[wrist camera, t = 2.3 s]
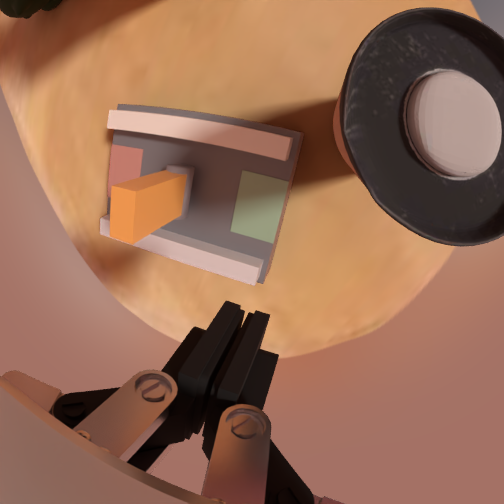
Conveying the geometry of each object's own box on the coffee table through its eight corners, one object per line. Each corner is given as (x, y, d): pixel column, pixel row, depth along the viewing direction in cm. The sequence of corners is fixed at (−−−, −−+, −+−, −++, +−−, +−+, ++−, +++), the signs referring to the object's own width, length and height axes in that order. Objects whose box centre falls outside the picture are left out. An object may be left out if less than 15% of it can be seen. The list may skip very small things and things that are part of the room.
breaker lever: (175, 162, 26) (109, 179, 18) (199, 167, 26) (139, 186, 17) (169, 208, 28) (107, 241, 19) (191, 214, 27) (134, 251, 19)
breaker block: (137, 105, 28) (106, 103, 24) (304, 133, 26) (298, 132, 21) (124, 223, 34) (96, 238, 29) (270, 268, 32) (258, 293, 27)
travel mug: (422, 112, 22) (568, 89, 4) (395, 185, 25) (504, 285, 7) (346, 78, 23) (375, -35, 5) (320, 153, 26) (300, 191, 8)
